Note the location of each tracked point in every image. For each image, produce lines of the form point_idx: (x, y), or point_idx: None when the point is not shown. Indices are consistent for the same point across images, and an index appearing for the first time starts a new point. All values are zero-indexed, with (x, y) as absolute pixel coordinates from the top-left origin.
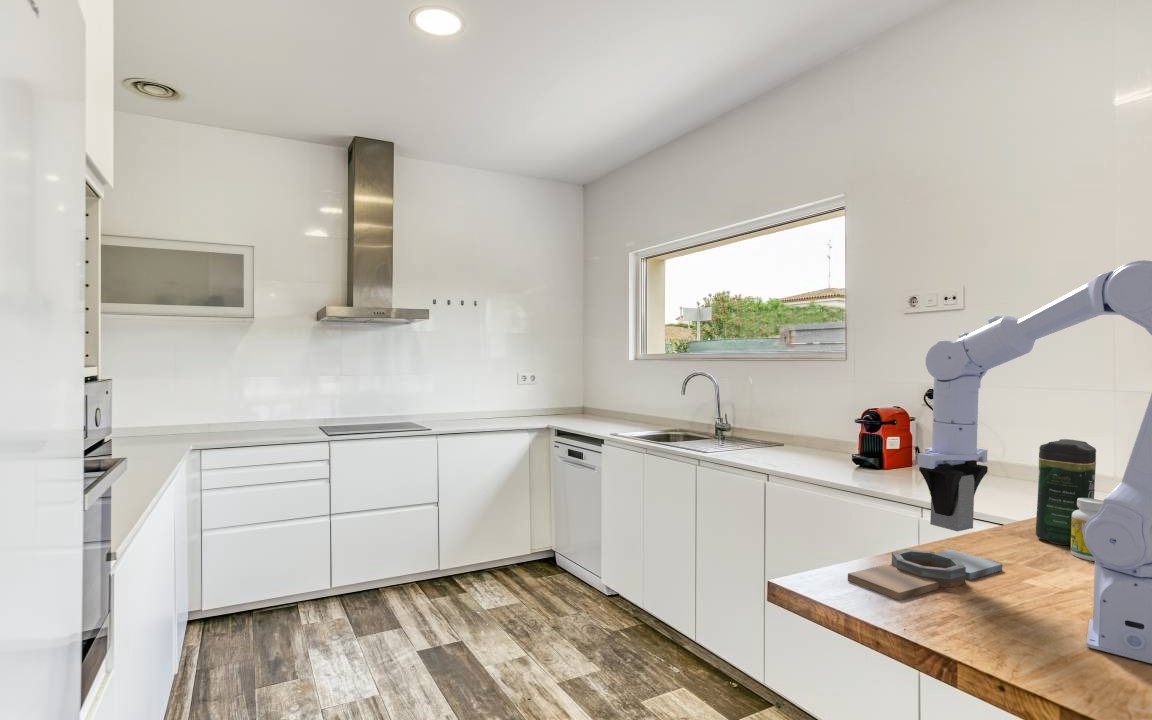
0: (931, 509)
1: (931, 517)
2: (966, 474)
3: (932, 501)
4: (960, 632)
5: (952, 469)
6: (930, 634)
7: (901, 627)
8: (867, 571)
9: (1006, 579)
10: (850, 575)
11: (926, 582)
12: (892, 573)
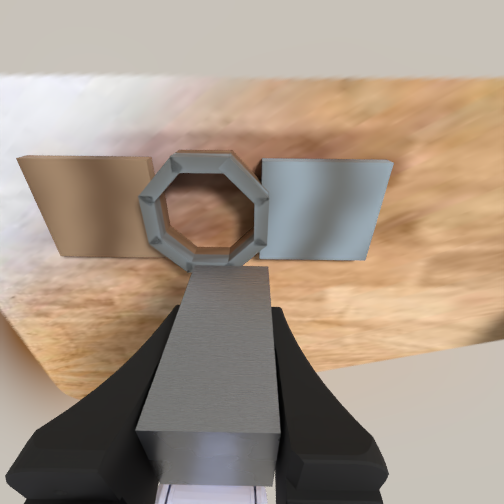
0: (185, 294)
1: (191, 278)
2: (239, 480)
3: (159, 327)
4: (78, 323)
5: (285, 450)
6: (37, 314)
7: (11, 293)
8: (70, 169)
9: (316, 274)
10: (20, 164)
11: (143, 250)
12: (115, 200)
